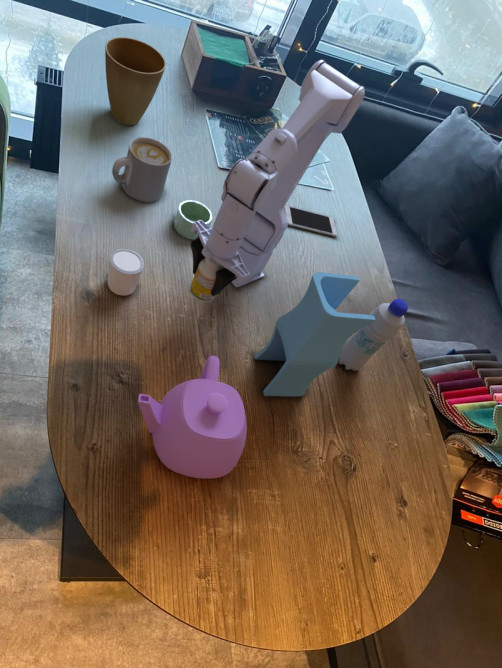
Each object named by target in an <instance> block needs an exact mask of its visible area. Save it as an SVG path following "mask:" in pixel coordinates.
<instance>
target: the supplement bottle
mask: <svg viewBox="0 0 502 668" xmlns="http://www.w3.org/2000/svg"><path fill="white" fill-rule="evenodd" d="M223 268H225V267H224V266H222V265H221V264H219V263H218V262H216V261H215V260H213V259H207V258H205V259H203V260H202V261H201V262H200V263H199V266H198V268H197V271H196V273H195V275H194V276H193V278H192V281H191V283H190V286H189V293H190V295H191V297H192V298H193V299H194V300H196V301H197V302H200V303H210V302H212V301H213V300H214V299H215V297H216V296H217V295H215V296H212V295H211V291H212V288H213V286H214V284H215V279H216V271H218V270H221V269H223Z"/></svg>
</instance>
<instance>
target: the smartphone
mask: <svg viewBox="0 0 502 668" xmlns="http://www.w3.org/2000/svg"><path fill="white" fill-rule="evenodd" d="M284 211H285V214H286V217H287V220H288V225H287V226H289V227H290V226H291V227H293V228H297V229H298V228H299V229H303V230H307V231H310V232H315V233H319V234H323V235H326V236H332V237H337V236H338V232H337V227H336V223H335V220H334V217H332V216H328V215H324V214H321V213H317V212H313V211H308V210H306V209H301V208H297V207H293V206H290V205H285V206H284Z"/></svg>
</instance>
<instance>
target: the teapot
mask: <svg viewBox="0 0 502 668" xmlns="http://www.w3.org/2000/svg"><path fill="white" fill-rule="evenodd" d="M203 365H204V366H203V368H202V372H201V374H200V376H199V378H195V379H190V380H189V379H188V380H186V381H183V382H181V383H179V384H177V385H175V386H174V387H172V388H171V389H170V390H168V392H166V394H165V395H164V397H163V398H162V399H161V400H160V402H158V401H157V400H156V399H155V398H154V397H152V395H150V394H149V395H148V394H145V393H139V394H138V400H137V404H138V407H139V409H140V412H141V415H142V417H143V420H144V423H145V425H146V428H147V431H148V433H151V435H152V442H153V447H154V449H155V452H156V455H157V456H158V458H159V460H160V462H161V463H162V464H163V465H164V466H165V467H166V468H168V469H169V470H171V471H172V472H175V473H177V474H179V475H183V476H186V477H190V478H195V479H209V480H210V479H218V478H221V477H224V476H227V475H229V474H230V473H231V472H232V471H233V470H234V469H235V467H236V466H237V465H238V463H239V461H240V459H241V456H242V454H243V451H244V448H245V445H246V440H247V430H248V425H247V415H246V411H245V407H244V403H243V400H242V397H241V395H240V393H239V392H238V391H237V389H235V387H233V386H231V385H229V384H227V383H225V382H221V381H219V375H220V366H221V365H220V359H219V357H218V356H216V355H209V356H208V357H207V359H206V361H205V362H204V364H203Z"/></svg>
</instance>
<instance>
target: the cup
mask: <svg viewBox="0 0 502 668" xmlns="http://www.w3.org/2000/svg"><path fill="white" fill-rule="evenodd" d="M199 220H202V221H203V222H204V223H205V224H206V225H208V226H209V227H211V223H212V222H213V213H212V211H211V209H209V207H208V206H207V205H205V204H204V203H203V202H200V201H198V200H194V199H193V200H191V199H186V200H183V201H181V202H180V203H179V204H178V207H177V209H176V212H175V216H174V220H173V227H174V229H175V231H176V232H177V233H178V234H179V235H181V236H182V237H184V238H186V239H188V240H192V241H193V240H196V238H197V237H198V236H199V235H198V234H197V233H193V232H192V231H191V228H192V225H193V222H195V221H199Z"/></svg>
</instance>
